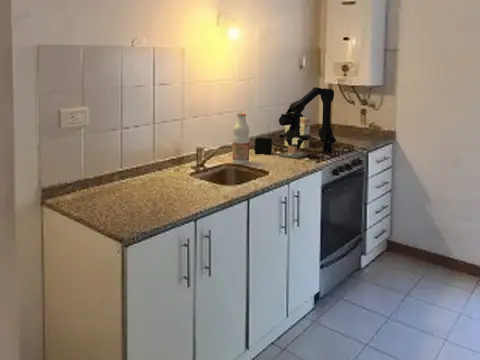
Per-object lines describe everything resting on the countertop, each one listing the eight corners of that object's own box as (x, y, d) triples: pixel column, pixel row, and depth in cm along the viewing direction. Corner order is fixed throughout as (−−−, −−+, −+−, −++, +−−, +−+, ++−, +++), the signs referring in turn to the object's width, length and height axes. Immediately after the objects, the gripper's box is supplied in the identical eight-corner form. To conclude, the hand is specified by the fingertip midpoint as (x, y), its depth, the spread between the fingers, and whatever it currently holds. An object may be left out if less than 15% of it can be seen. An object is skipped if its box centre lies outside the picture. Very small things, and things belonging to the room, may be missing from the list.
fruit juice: (229, 162, 302) (229, 113, 295) (242, 160, 307) (243, 112, 300) (238, 165, 294) (239, 115, 287) (252, 163, 300) (253, 114, 293)
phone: (293, 150, 326) (293, 143, 325) (300, 151, 324) (300, 144, 323) (287, 152, 320) (288, 145, 319) (294, 153, 317) (294, 146, 316)
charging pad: (290, 152, 332) (290, 151, 331) (308, 155, 326) (308, 153, 325) (279, 156, 319) (279, 155, 319) (297, 159, 313) (297, 157, 313)
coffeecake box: (309, 147, 351) (310, 117, 346) (303, 148, 345) (304, 118, 341) (290, 144, 360) (291, 115, 355) (284, 145, 354) (285, 116, 350)
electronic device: (270, 155, 324) (271, 138, 321) (254, 154, 326) (254, 138, 323) (271, 153, 328) (272, 137, 325) (255, 152, 330) (256, 137, 327)
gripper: (275, 124, 316) (274, 150, 320) (303, 127, 306) (302, 154, 310) (283, 122, 325) (282, 147, 329) (311, 125, 316) (310, 151, 320)
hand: (294, 150), depth 322 cm, fingers closed on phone, 4 cm apart
